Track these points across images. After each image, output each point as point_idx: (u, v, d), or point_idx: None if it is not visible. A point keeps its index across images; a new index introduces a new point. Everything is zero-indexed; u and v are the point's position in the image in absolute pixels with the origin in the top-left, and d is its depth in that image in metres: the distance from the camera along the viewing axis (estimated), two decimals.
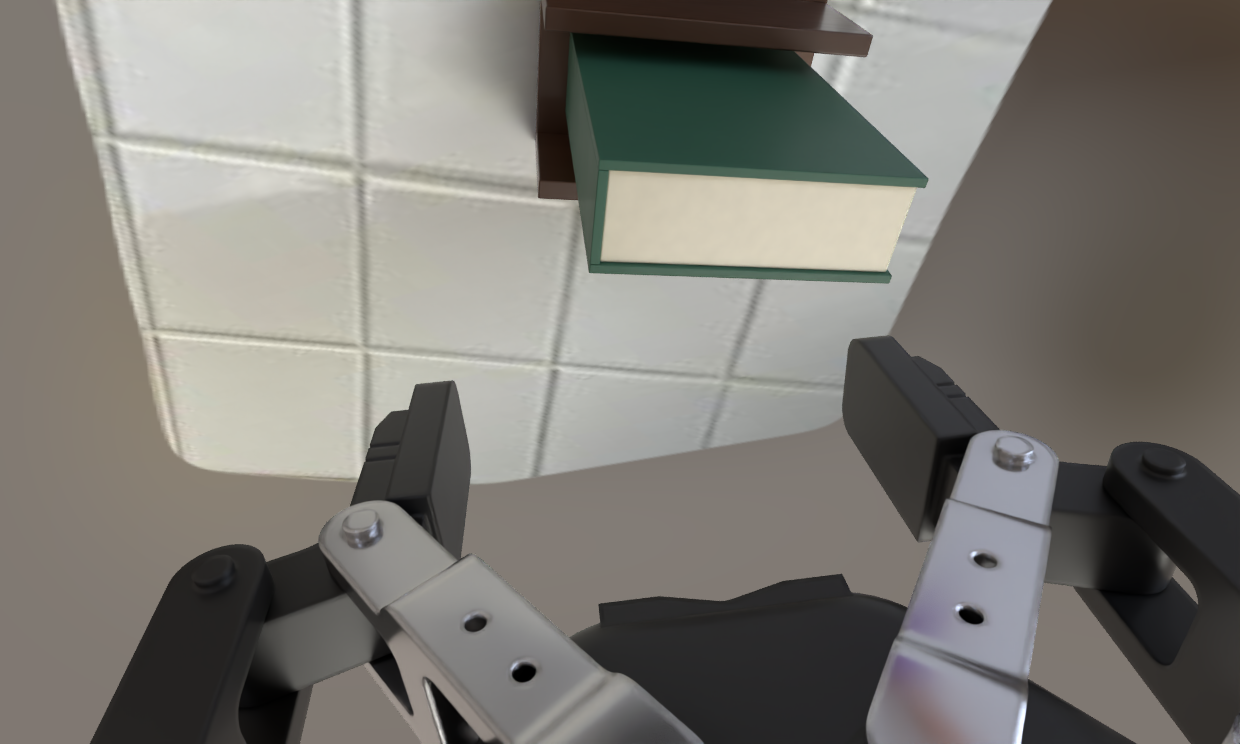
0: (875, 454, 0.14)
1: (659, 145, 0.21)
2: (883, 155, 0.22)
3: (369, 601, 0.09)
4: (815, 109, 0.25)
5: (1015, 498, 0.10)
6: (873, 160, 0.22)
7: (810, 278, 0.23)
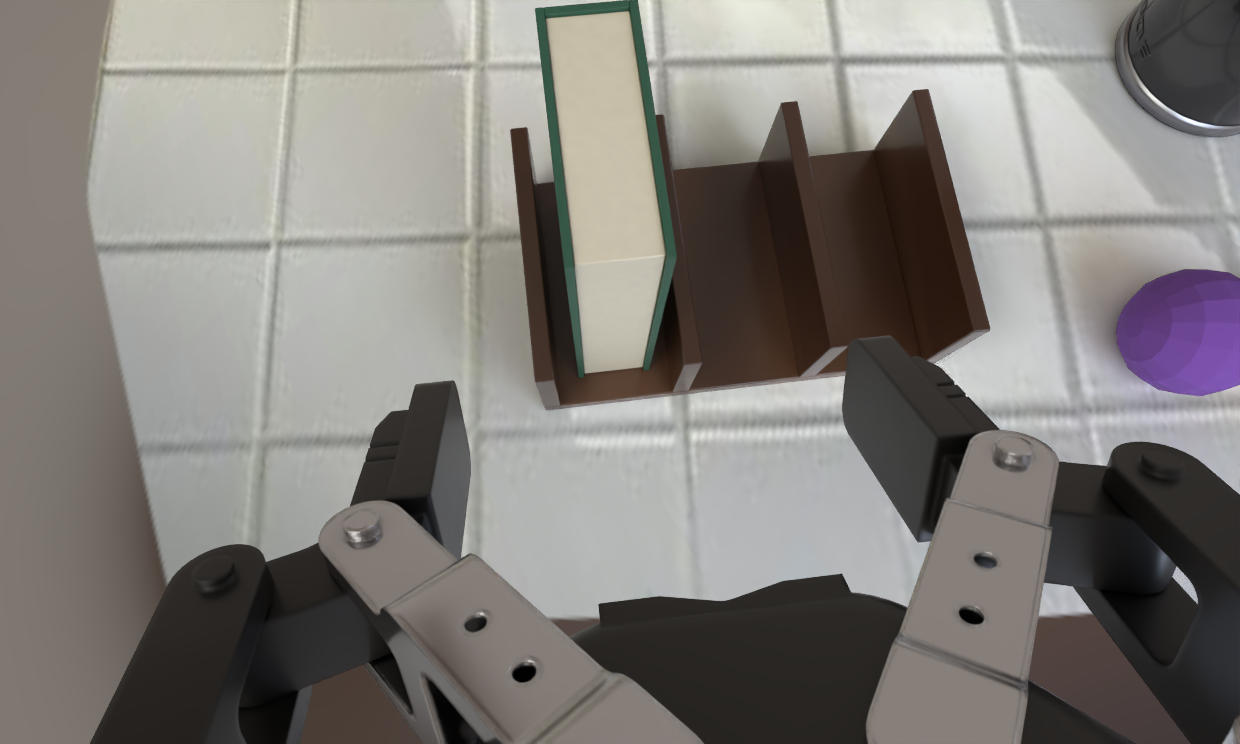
0: (875, 454, 0.14)
1: None
2: None
3: (369, 601, 0.09)
4: None
5: (1015, 498, 0.10)
6: None
7: (558, 190, 0.23)
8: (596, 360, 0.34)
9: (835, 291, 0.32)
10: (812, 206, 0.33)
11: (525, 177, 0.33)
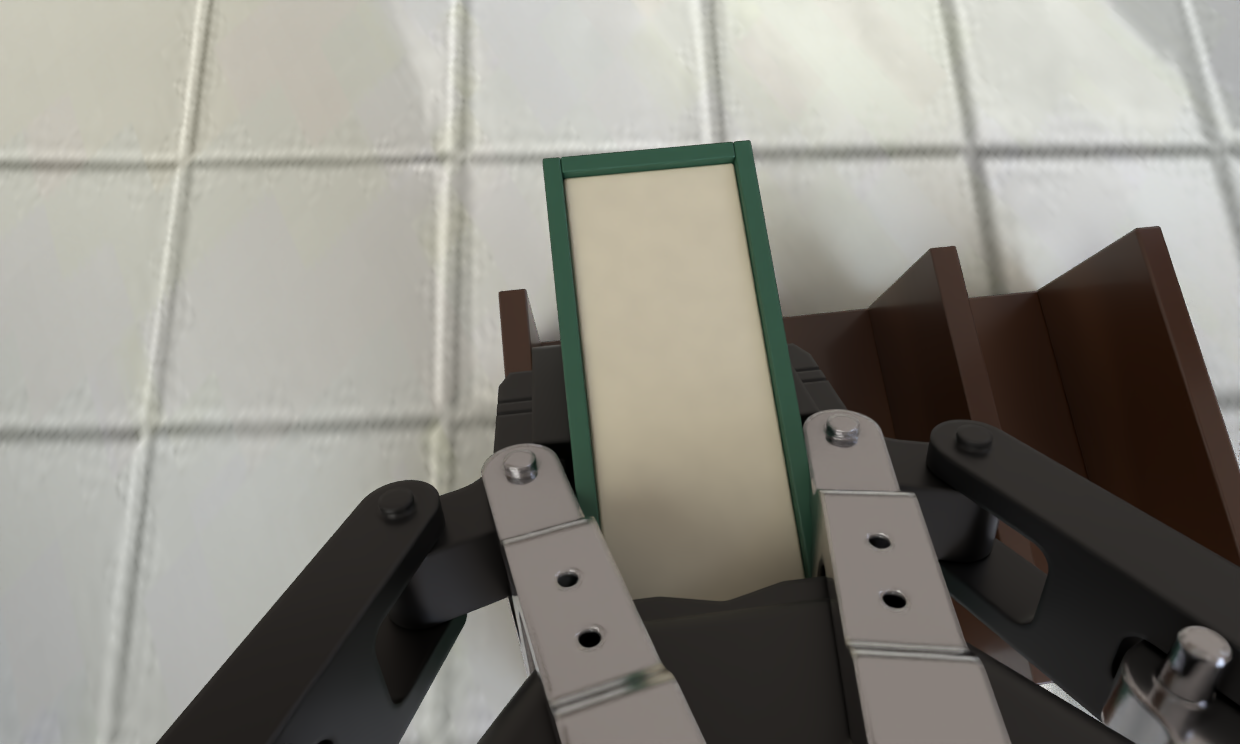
0: None
1: None
2: None
3: (500, 531, 0.10)
4: None
5: (863, 471, 0.11)
6: None
7: None
8: None
9: None
10: None
11: None
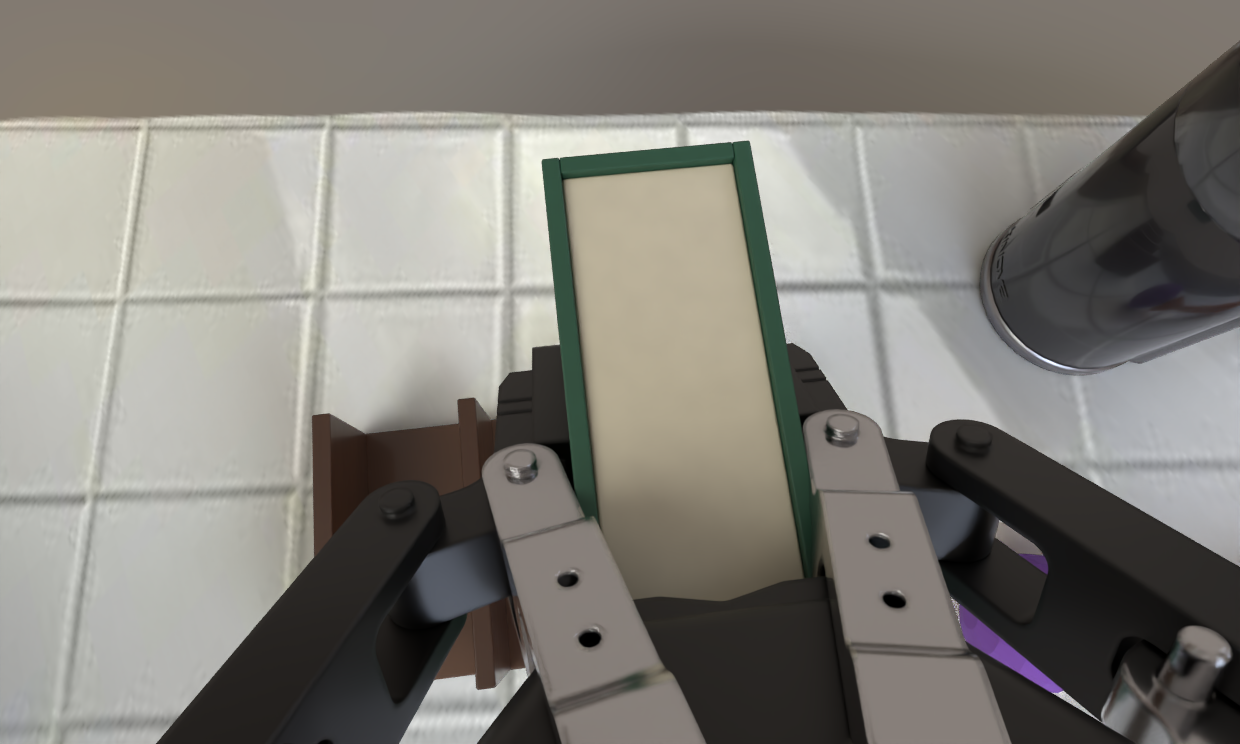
0: None
1: None
2: None
3: (500, 531, 0.10)
4: None
5: (862, 472, 0.11)
6: None
7: None
8: None
9: None
10: None
11: (323, 472, 0.31)
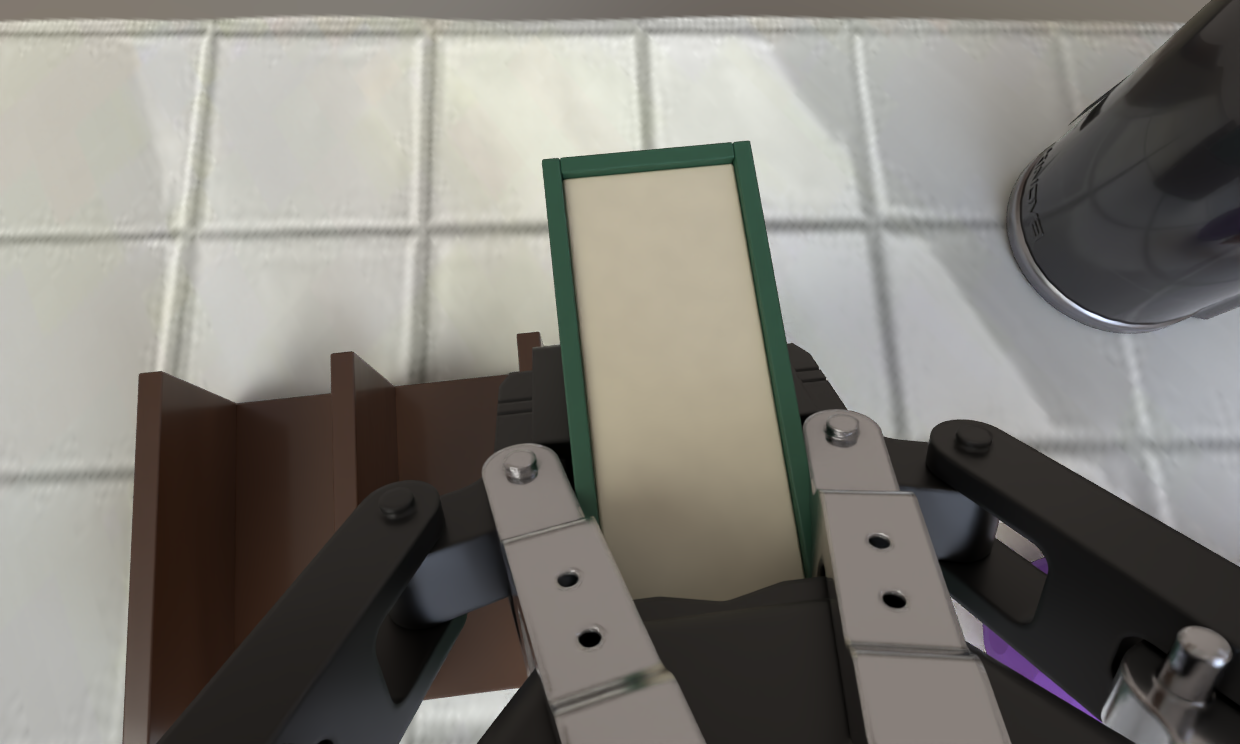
0: None
1: None
2: None
3: (500, 531, 0.10)
4: None
5: (863, 472, 0.11)
6: None
7: None
8: None
9: None
10: None
11: (149, 447, 0.24)
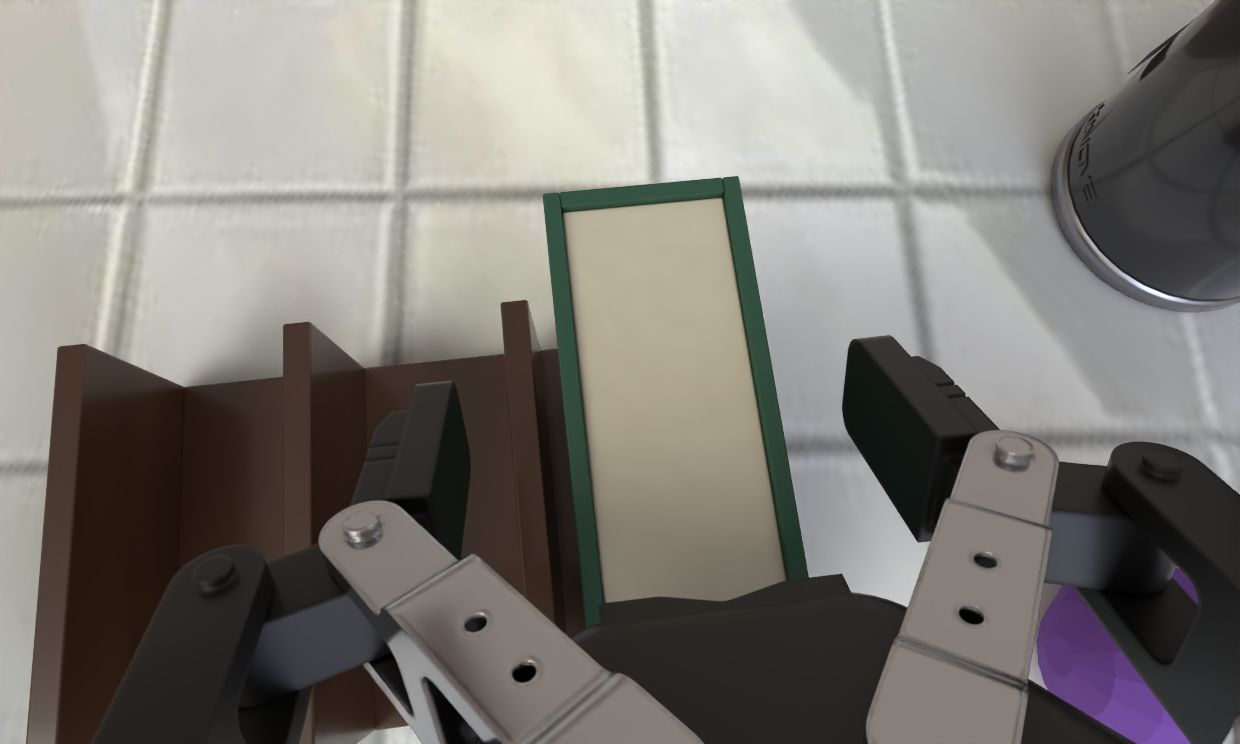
0: (875, 454, 0.14)
1: None
2: None
3: (370, 601, 0.09)
4: None
5: (1015, 498, 0.10)
6: None
7: (589, 598, 0.11)
8: None
9: None
10: (531, 483, 0.20)
11: (67, 432, 0.20)
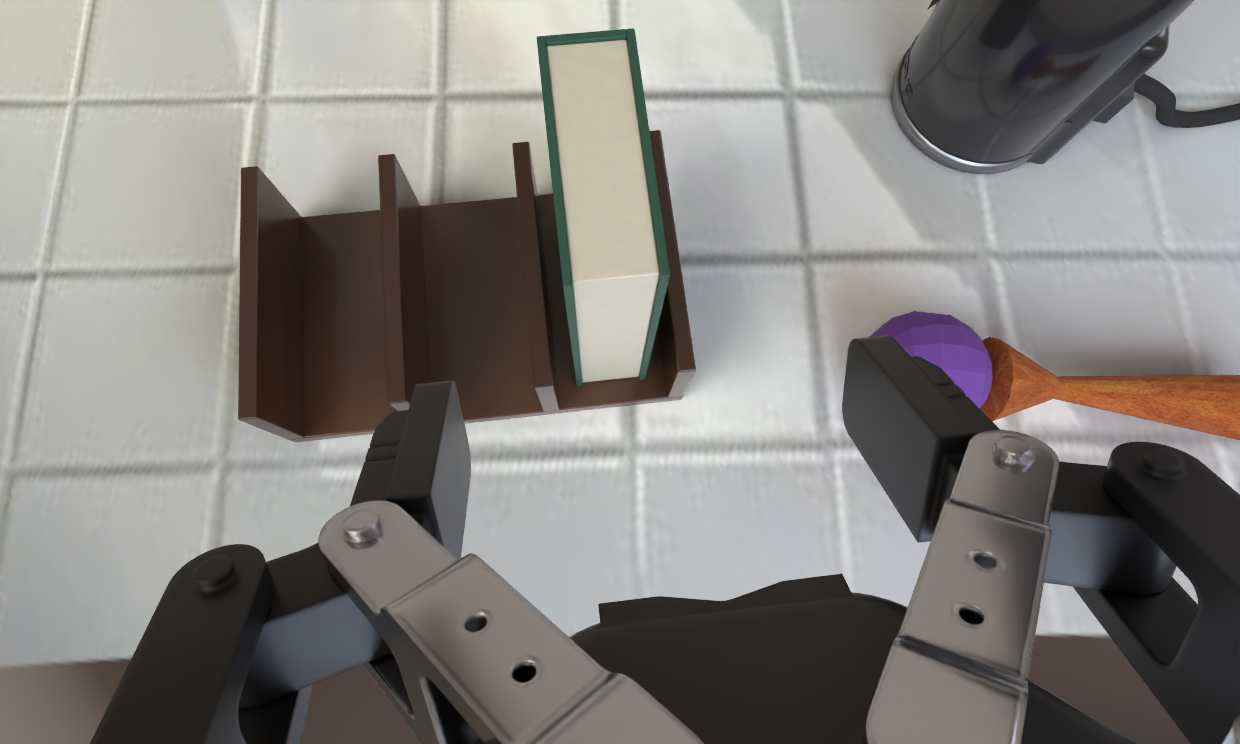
0: (875, 454, 0.14)
1: None
2: None
3: (369, 601, 0.09)
4: None
5: (1014, 498, 0.10)
6: None
7: (558, 211, 0.24)
8: (593, 370, 0.35)
9: (545, 331, 0.33)
10: (531, 246, 0.34)
11: (250, 216, 0.34)
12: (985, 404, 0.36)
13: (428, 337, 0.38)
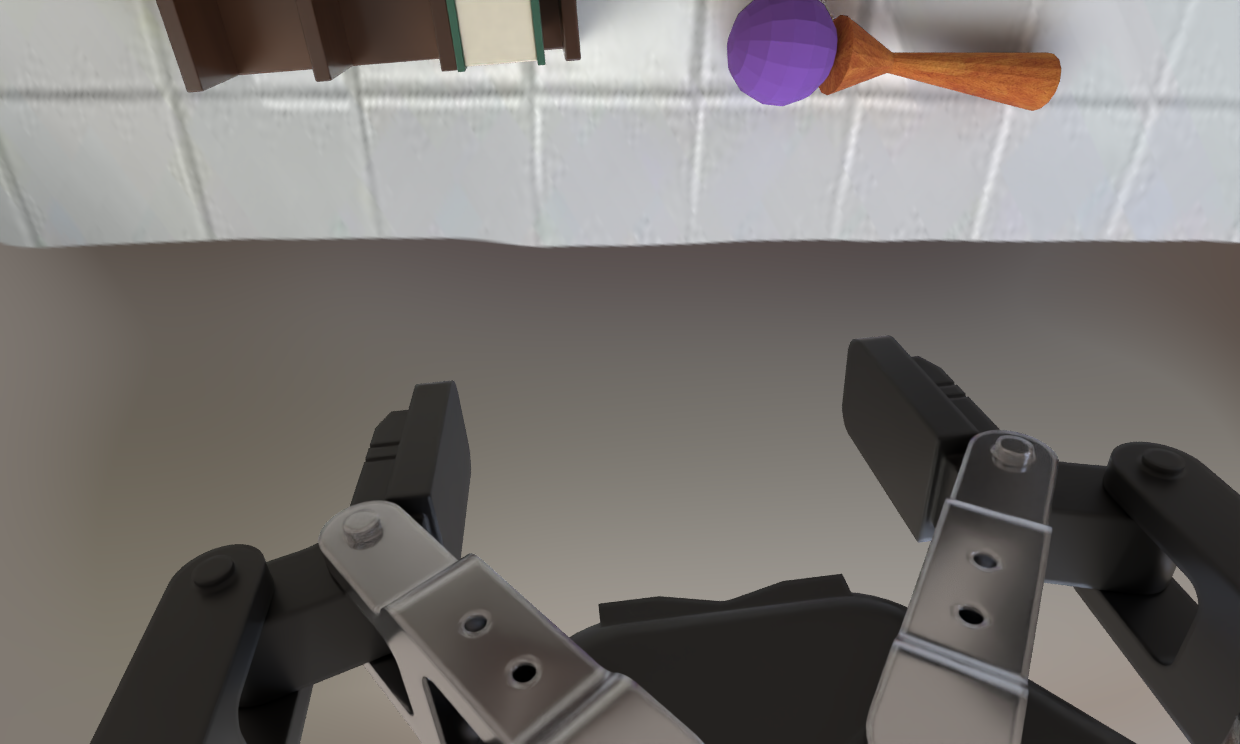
0: (875, 454, 0.14)
1: None
2: None
3: (369, 600, 0.09)
4: None
5: (1015, 498, 0.10)
6: (541, 27, 0.30)
7: None
8: None
9: (446, 15, 0.36)
10: None
11: None
12: (826, 78, 0.43)
13: None
